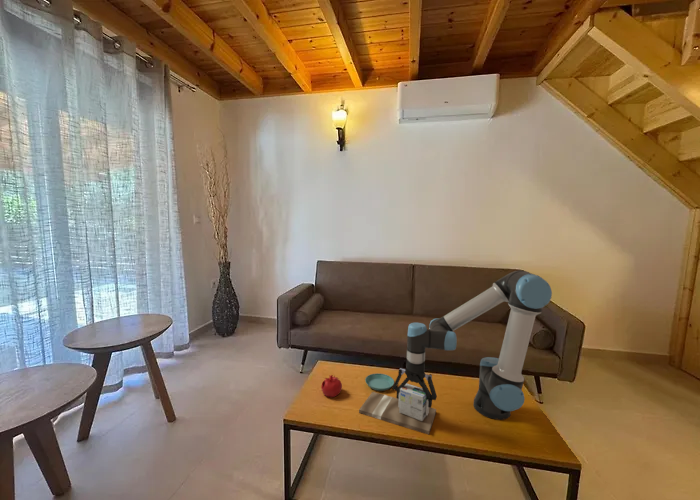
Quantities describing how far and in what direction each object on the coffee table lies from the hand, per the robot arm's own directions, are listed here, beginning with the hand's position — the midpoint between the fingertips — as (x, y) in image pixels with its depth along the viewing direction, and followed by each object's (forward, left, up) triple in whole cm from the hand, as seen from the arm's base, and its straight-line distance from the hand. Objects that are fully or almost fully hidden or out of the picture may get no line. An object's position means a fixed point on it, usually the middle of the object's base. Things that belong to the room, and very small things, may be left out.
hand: (413, 409), depth 131 cm
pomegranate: (+40, 0, -4) cm, 40 cm away
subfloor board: (+7, 0, -3) cm, 8 cm away
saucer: (+22, -18, -4) cm, 29 cm away
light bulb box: (0, 0, -2) cm, 2 cm away
